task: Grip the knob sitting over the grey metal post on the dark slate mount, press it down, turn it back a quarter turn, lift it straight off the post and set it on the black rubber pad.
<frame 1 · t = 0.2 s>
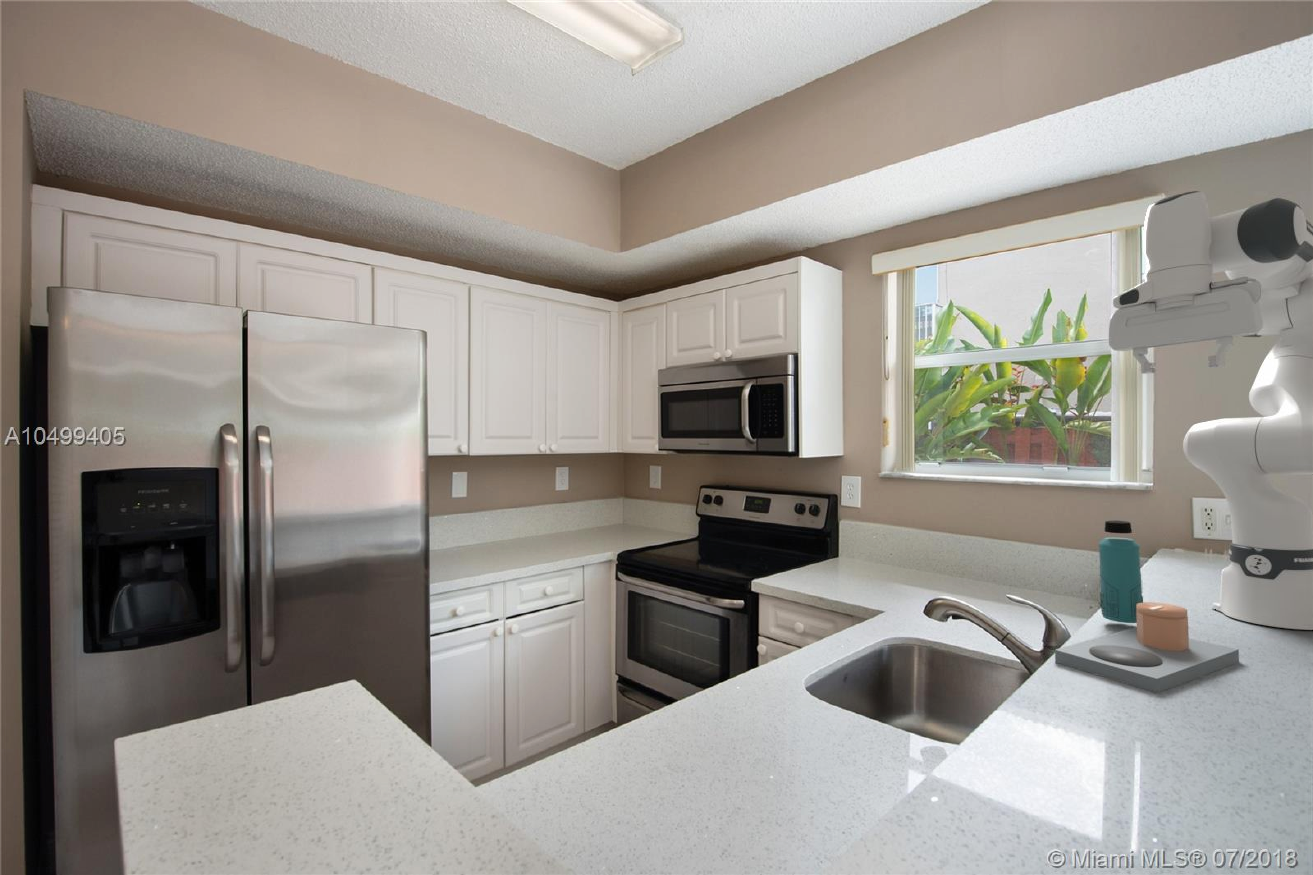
hand: (1181, 370, 104), 47 cm above the countertop, fingers open, 8 cm apart
knob: (1162, 644, 100), point 2 cm above the countertop, touching mount
mount: (1146, 662, 97), on the countertop
beverage bottle: (1121, 627, 116), on the countertop
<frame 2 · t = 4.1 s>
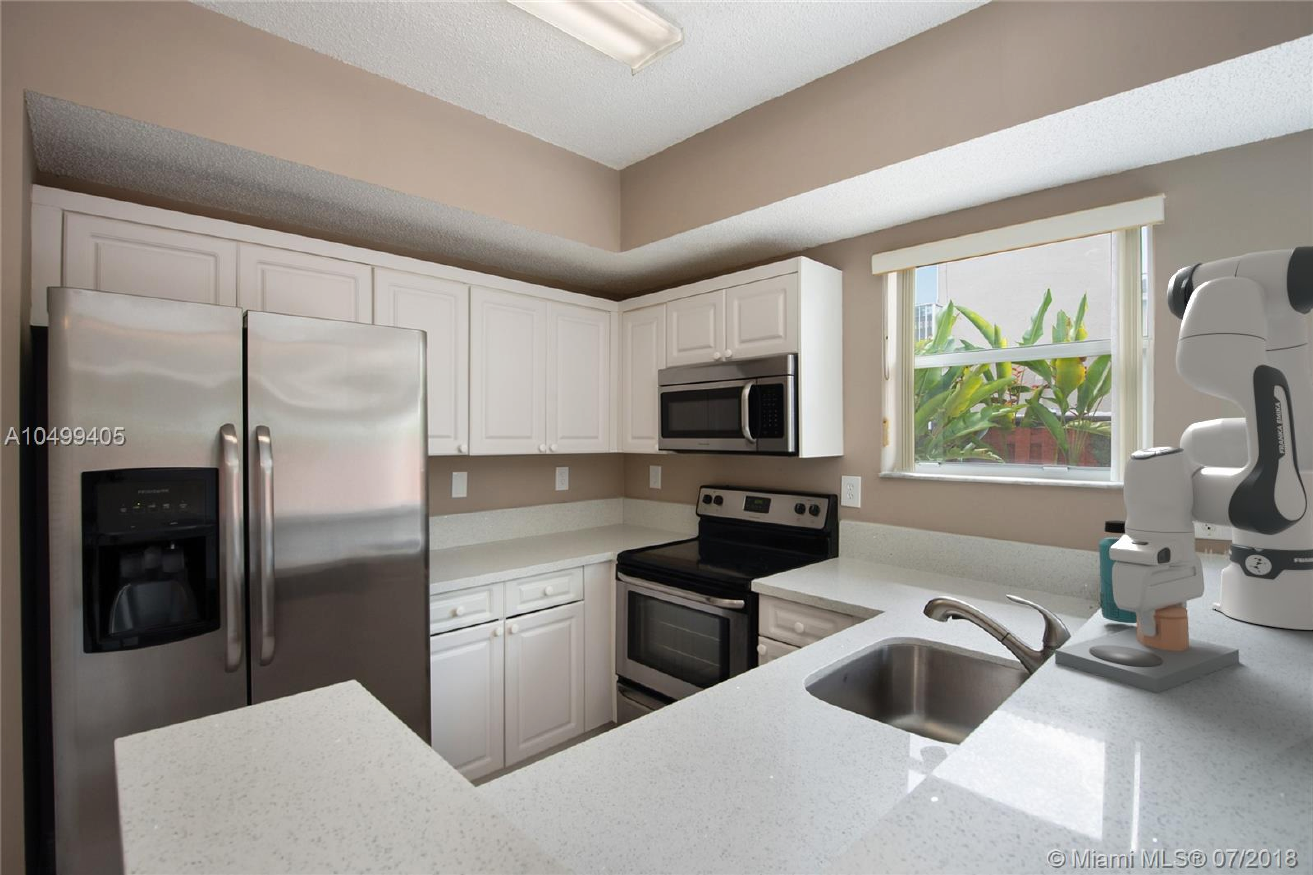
hand: (1162, 631, 100), 4 cm above the countertop, fingers closed on knob, 6 cm apart
knob: (1162, 644, 100), point 2 cm above the countertop, touching gripper, mount
everything else where it was.
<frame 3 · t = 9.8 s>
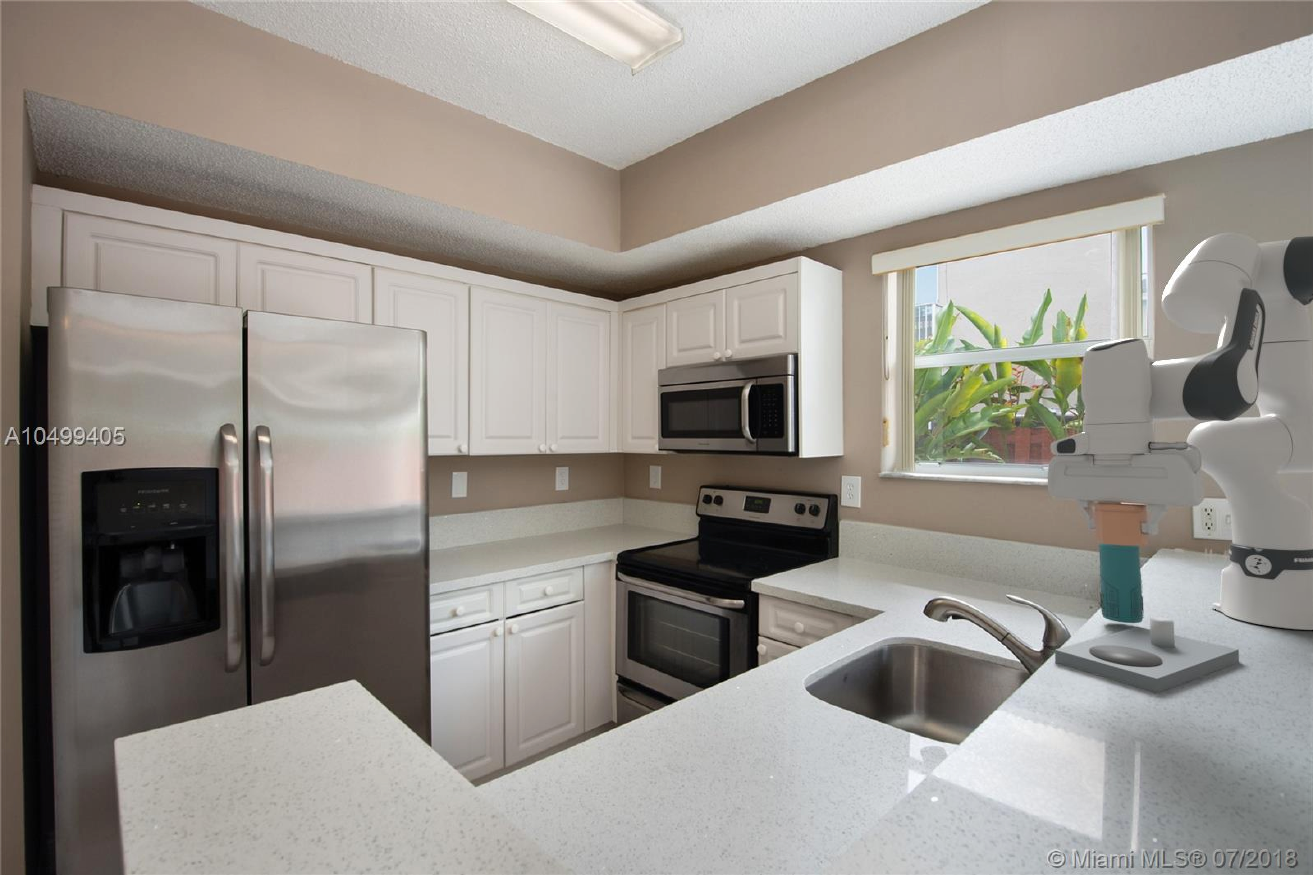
hand: (1121, 531, 95), 21 cm above the countertop, fingers closed on knob, 6 cm apart
knob: (1121, 542, 95), point 20 cm above the countertop, touching gripper
everything else where it was.
when the fingers open (6 cm above the countertop, at t = 13.6 s): knob drops 2 cm, resting on mount.
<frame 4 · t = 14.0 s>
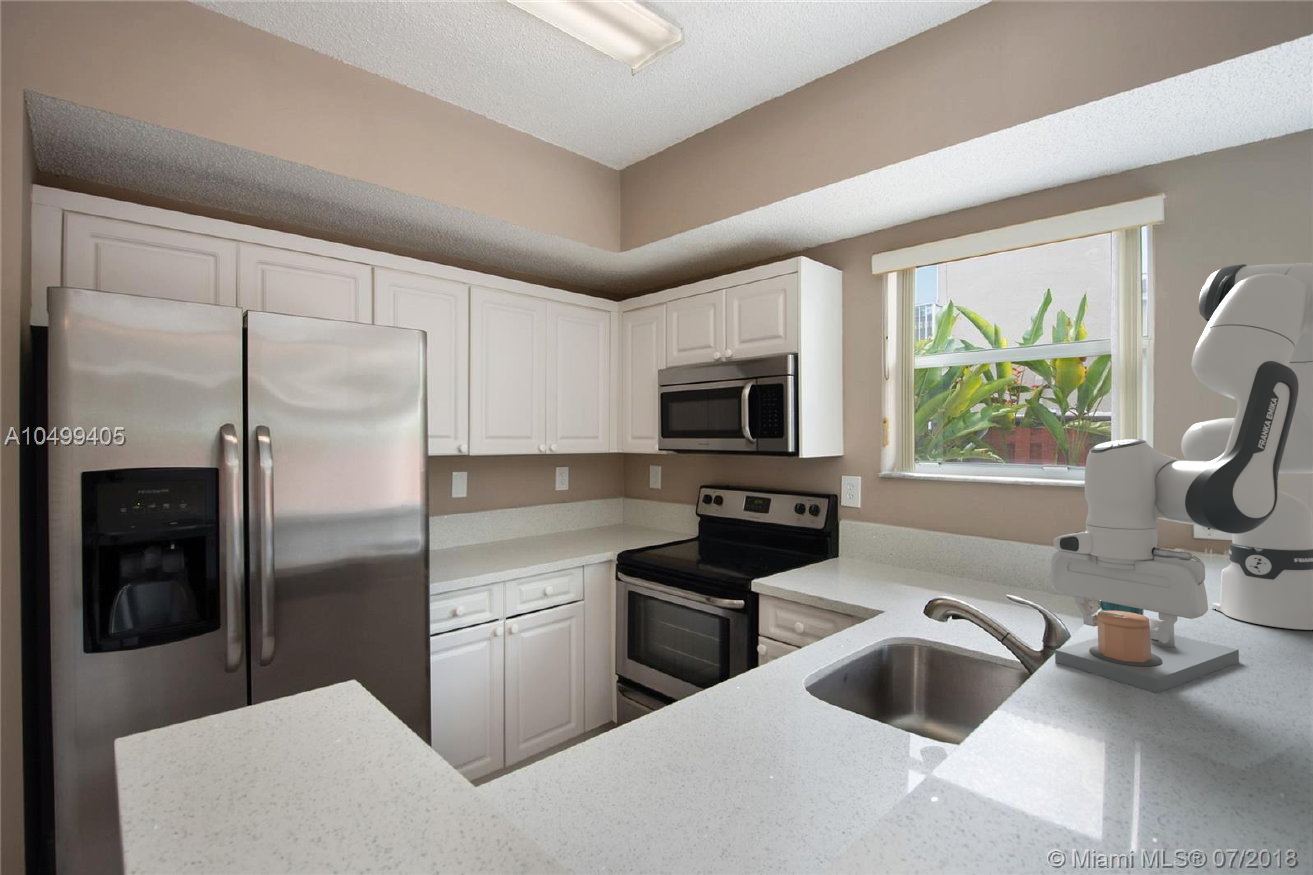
hand: (1124, 633, 95), 6 cm above the countertop, fingers open, 8 cm apart
knob: (1124, 654, 95), point 2 cm above the countertop, touching mount
everything else where it was.
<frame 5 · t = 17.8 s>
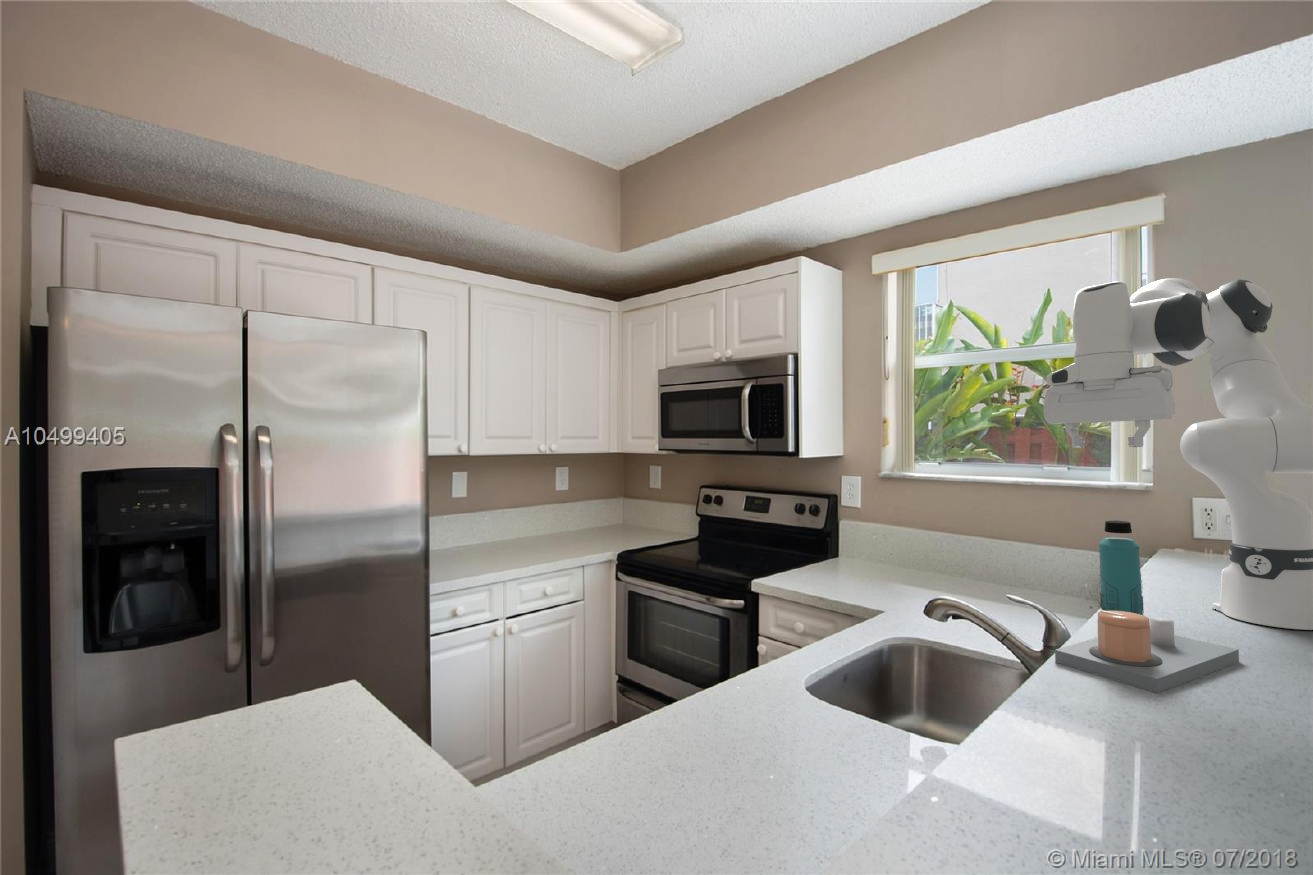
hand: (1106, 447, 111), 34 cm above the countertop, fingers open, 8 cm apart
nothing on the countertop moved.
at the end: knob 0.0 cm from the target spot on the mount, point 2.2 cm above the mount's base; the gripper is holding nothing; knob tilted 0° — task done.
